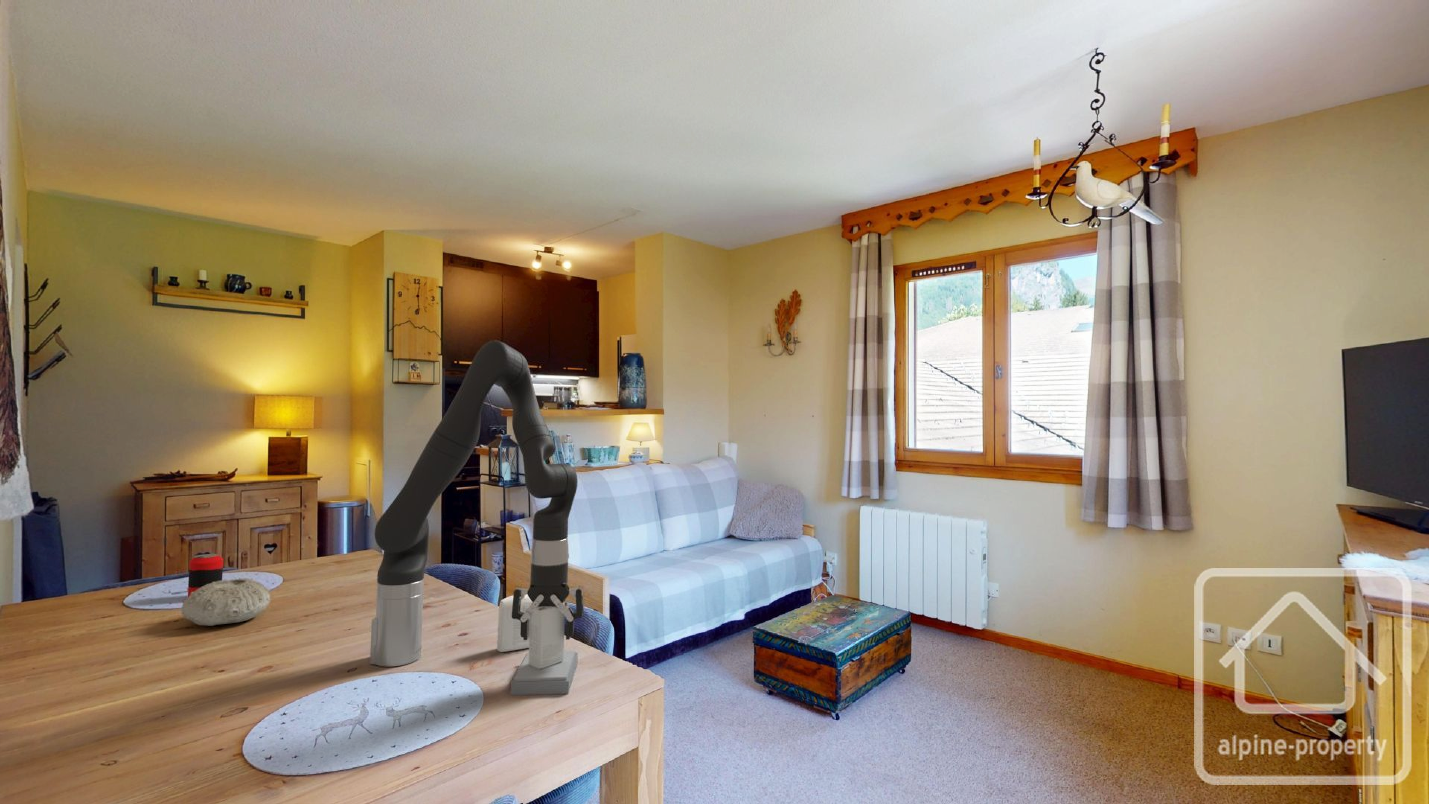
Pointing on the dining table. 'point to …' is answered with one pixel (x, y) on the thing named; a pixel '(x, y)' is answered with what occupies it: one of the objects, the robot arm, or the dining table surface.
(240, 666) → the dining table surface
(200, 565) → the soda can
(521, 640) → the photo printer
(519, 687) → the slate stand
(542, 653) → the skincare box
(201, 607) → the decorative shell
